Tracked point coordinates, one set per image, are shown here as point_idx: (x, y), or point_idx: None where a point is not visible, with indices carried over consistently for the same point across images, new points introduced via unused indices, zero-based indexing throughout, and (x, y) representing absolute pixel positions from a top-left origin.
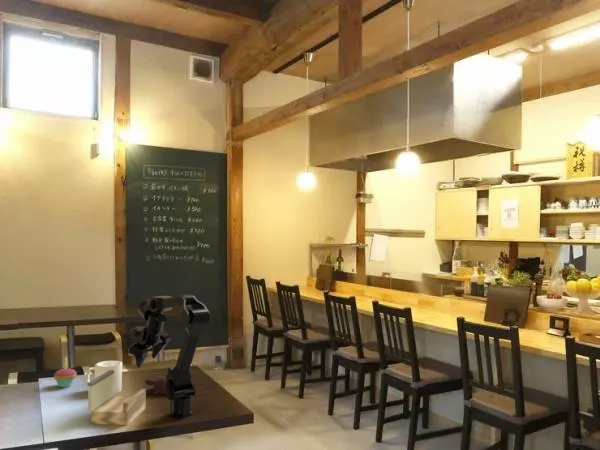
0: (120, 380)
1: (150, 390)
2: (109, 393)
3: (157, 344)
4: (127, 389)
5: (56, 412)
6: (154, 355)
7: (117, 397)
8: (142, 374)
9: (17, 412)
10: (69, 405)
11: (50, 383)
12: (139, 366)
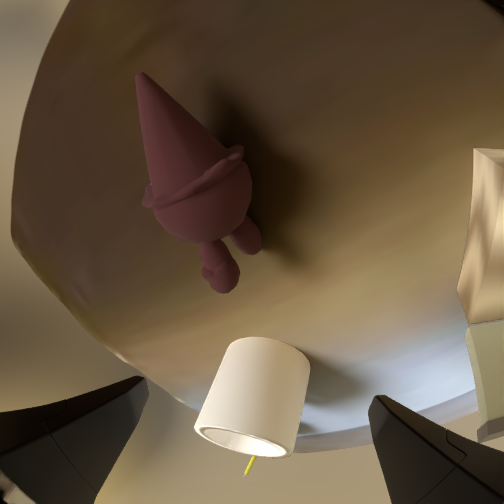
0: (247, 369)
1: (250, 231)
2: (501, 338)
3: (65, 493)
4: (231, 324)
5: (467, 379)
6: (133, 401)
7: (488, 302)
8: (106, 323)
9: (448, 416)
10: (418, 384)
11: None
12: (399, 405)
